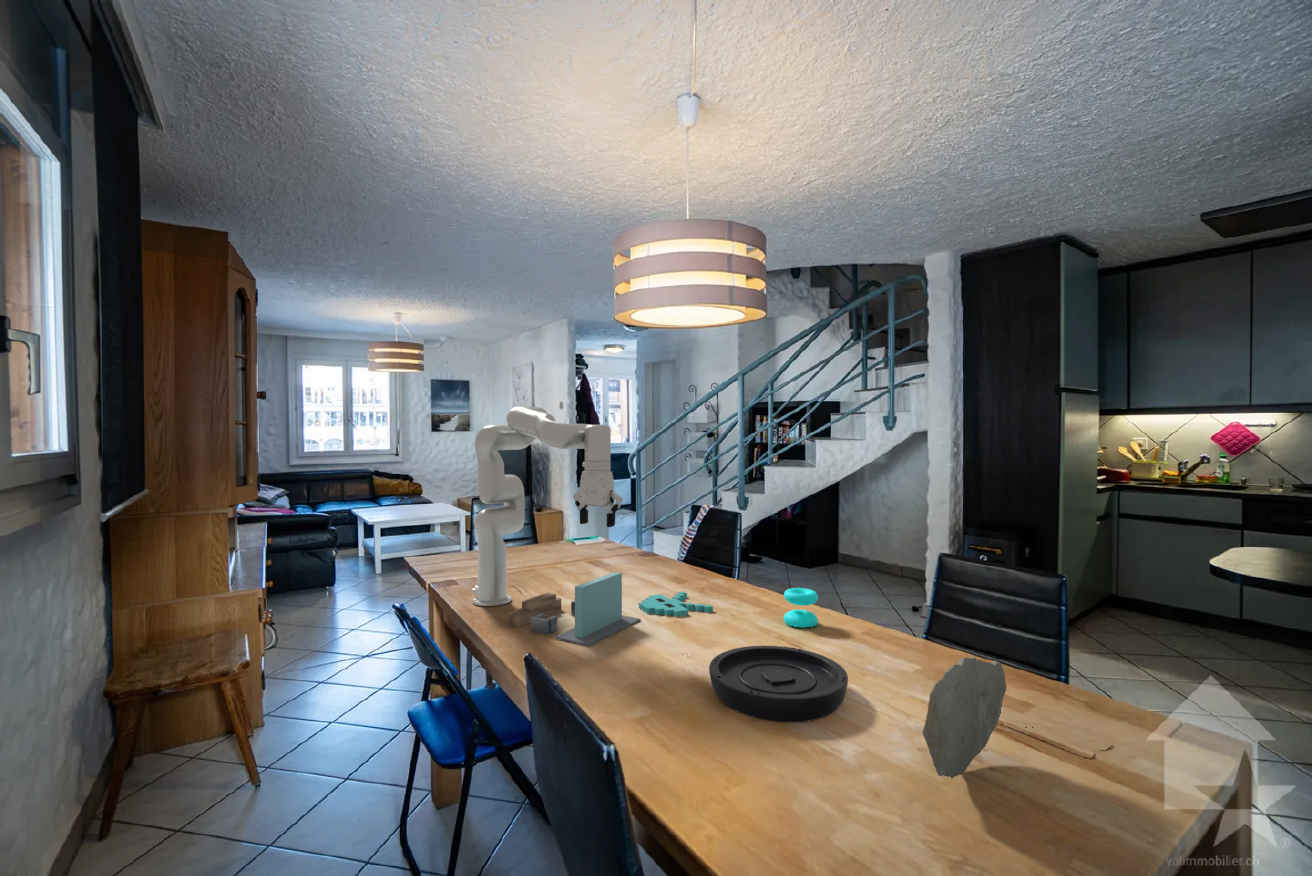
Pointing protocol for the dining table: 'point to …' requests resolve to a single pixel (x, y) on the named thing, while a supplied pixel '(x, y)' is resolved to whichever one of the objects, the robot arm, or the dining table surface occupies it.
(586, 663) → the dining table surface
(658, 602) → the alien figure
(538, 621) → the slab rack
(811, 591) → the donuts
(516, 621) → the offcut stack
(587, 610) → the teal sheet
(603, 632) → the rubber mat
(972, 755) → the rock
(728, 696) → the round tray
